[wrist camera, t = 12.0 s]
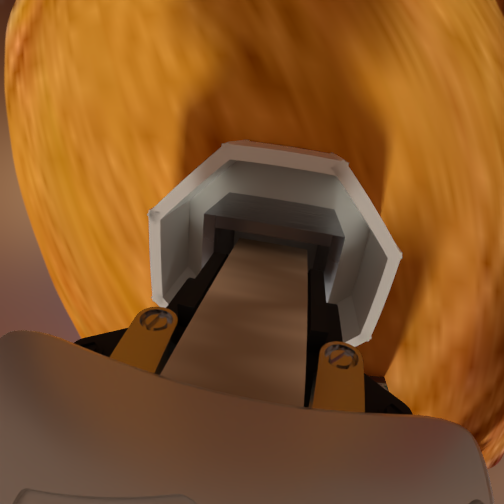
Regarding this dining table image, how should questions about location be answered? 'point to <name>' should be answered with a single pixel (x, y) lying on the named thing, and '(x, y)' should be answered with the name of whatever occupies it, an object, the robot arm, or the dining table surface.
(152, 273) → the white octagonal tray
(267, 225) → the hollow square tube
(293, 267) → the grey rectangular block
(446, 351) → the dining table surface
